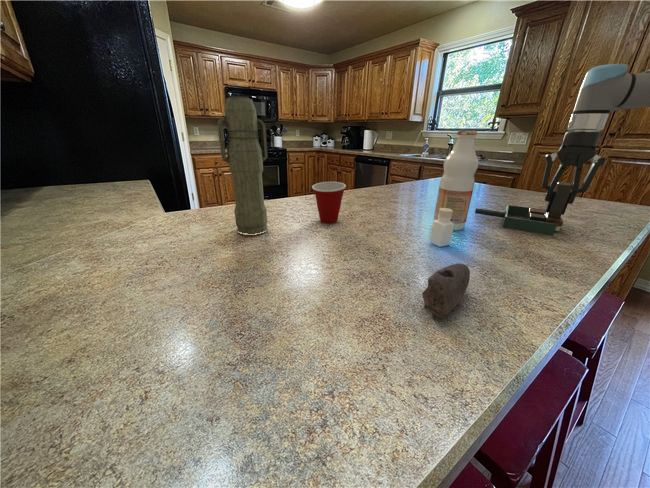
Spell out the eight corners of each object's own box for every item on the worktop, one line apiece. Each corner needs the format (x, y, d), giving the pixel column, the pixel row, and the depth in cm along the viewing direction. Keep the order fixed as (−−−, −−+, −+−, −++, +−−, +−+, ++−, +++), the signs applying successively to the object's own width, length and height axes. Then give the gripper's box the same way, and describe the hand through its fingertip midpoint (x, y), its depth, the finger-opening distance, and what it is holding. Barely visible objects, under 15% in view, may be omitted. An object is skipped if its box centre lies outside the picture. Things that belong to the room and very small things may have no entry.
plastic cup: (305, 221, 88) (304, 184, 83) (326, 214, 96) (326, 180, 91) (330, 228, 82) (331, 189, 77) (351, 220, 89) (353, 184, 85)
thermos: (277, 231, 79) (269, 97, 65) (237, 239, 73) (219, 93, 59) (266, 223, 86) (256, 100, 72) (228, 230, 80) (210, 96, 66)
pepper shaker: (438, 240, 74) (445, 206, 71) (450, 245, 71) (458, 210, 67) (428, 242, 73) (434, 208, 69) (439, 247, 69) (446, 212, 66)
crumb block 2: (541, 227, 85) (545, 215, 84) (542, 230, 82) (546, 218, 81) (526, 224, 87) (530, 212, 86) (526, 228, 84) (530, 216, 83)
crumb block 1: (540, 221, 91) (544, 210, 89) (540, 224, 88) (544, 212, 86) (525, 219, 93) (529, 208, 91) (526, 222, 90) (529, 210, 88)
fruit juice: (426, 223, 87) (441, 130, 76) (447, 219, 91) (464, 130, 80) (449, 232, 80) (470, 130, 69) (471, 228, 83) (494, 131, 72)
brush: (555, 221, 89) (570, 181, 84) (559, 231, 80) (576, 187, 74) (540, 218, 91) (554, 180, 86) (543, 228, 82) (558, 186, 76)
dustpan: (547, 220, 92) (551, 210, 91) (553, 235, 78) (557, 224, 77) (477, 209, 103) (479, 200, 102) (471, 221, 89) (473, 211, 88)
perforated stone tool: (448, 281, 54) (455, 249, 51) (476, 291, 51) (485, 258, 48) (411, 313, 44) (417, 277, 42) (442, 329, 41) (451, 290, 38)
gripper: (619, 131, 73) (585, 214, 82) (546, 130, 81) (522, 206, 91) (628, 131, 67) (590, 220, 77) (548, 130, 76) (523, 211, 85)
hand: (554, 212), depth 84 cm, fingers closed on brush, 3 cm apart
